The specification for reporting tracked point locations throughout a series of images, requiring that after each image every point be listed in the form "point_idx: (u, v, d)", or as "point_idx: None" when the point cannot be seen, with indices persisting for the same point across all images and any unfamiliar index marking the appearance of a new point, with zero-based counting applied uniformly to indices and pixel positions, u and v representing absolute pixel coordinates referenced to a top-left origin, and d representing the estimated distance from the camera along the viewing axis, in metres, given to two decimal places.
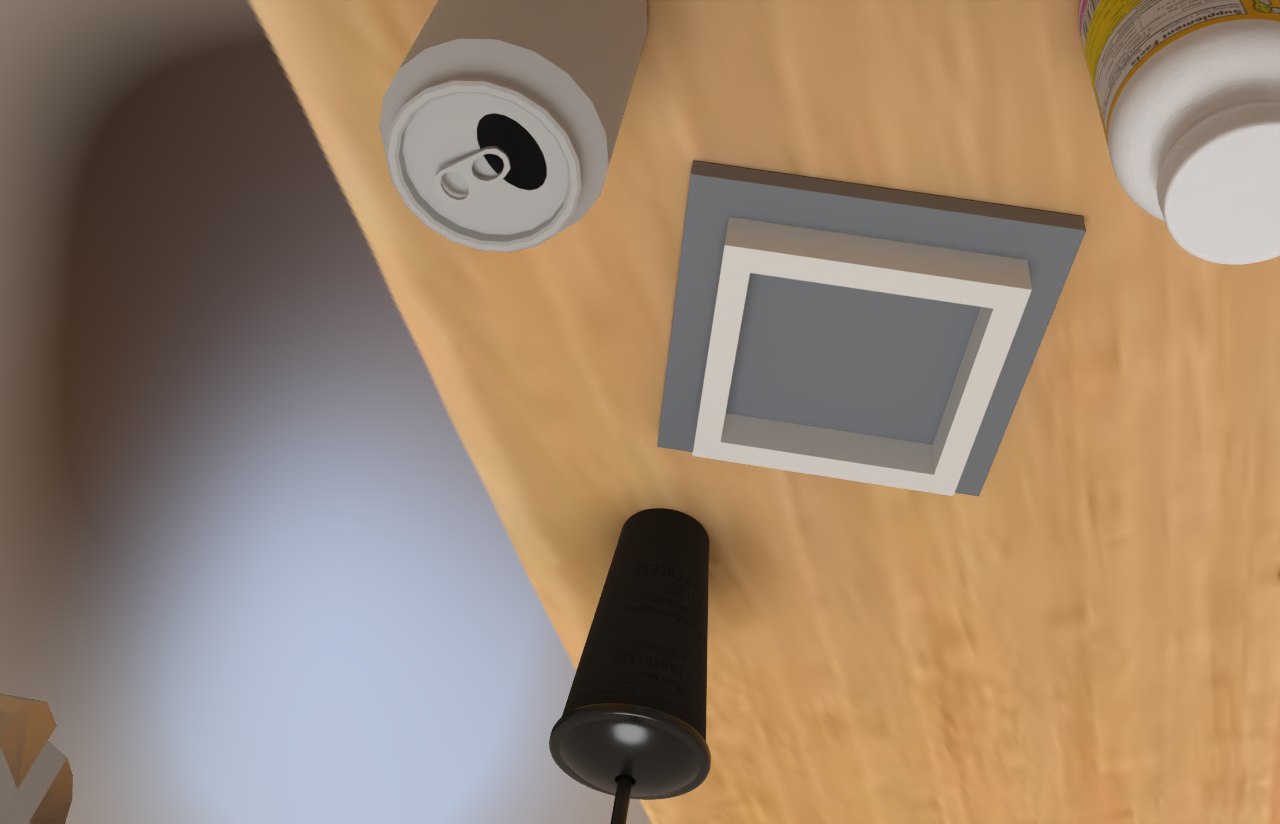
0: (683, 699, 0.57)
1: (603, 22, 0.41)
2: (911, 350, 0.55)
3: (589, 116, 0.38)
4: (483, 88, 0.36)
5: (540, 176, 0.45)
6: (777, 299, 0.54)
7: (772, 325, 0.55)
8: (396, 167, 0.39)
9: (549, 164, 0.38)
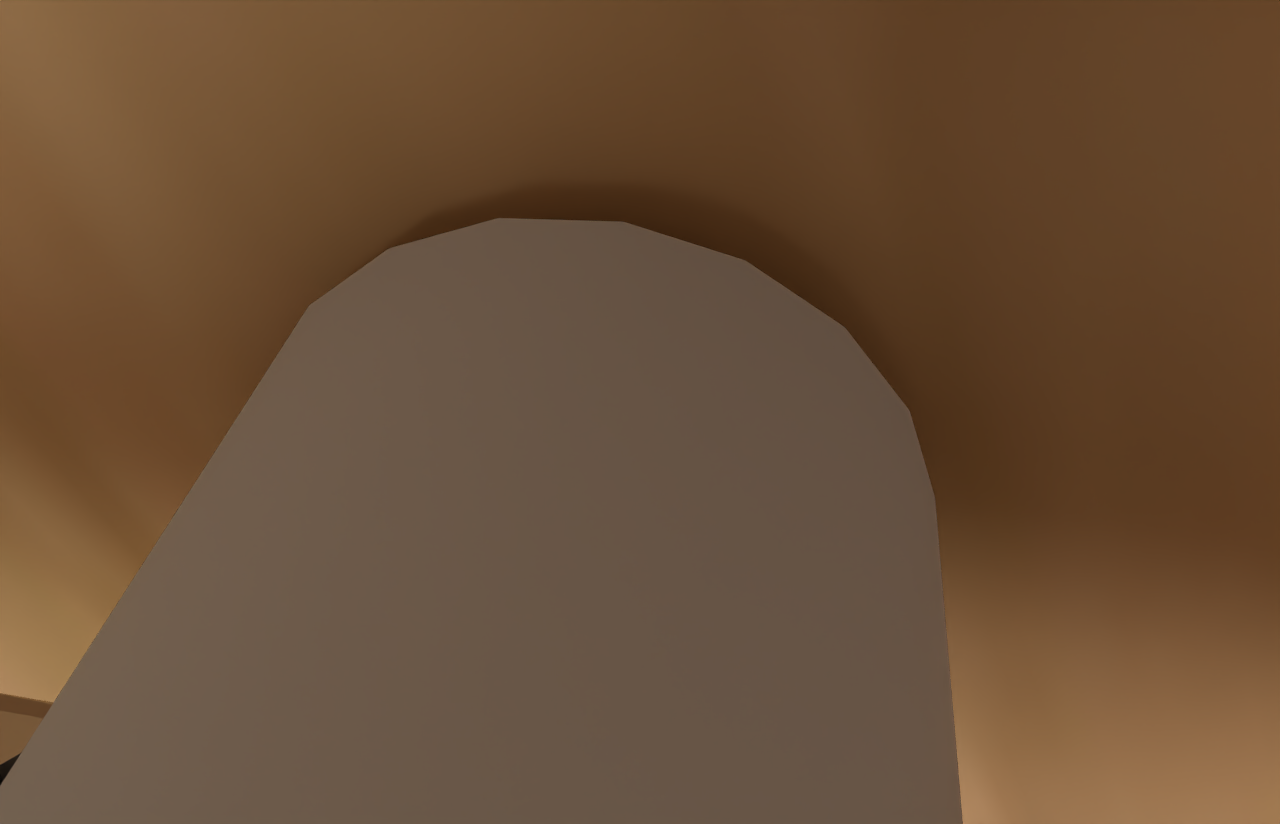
0: None
1: (896, 821, 0.08)
2: None
3: None
4: None
5: None
6: None
7: None
8: None
9: None
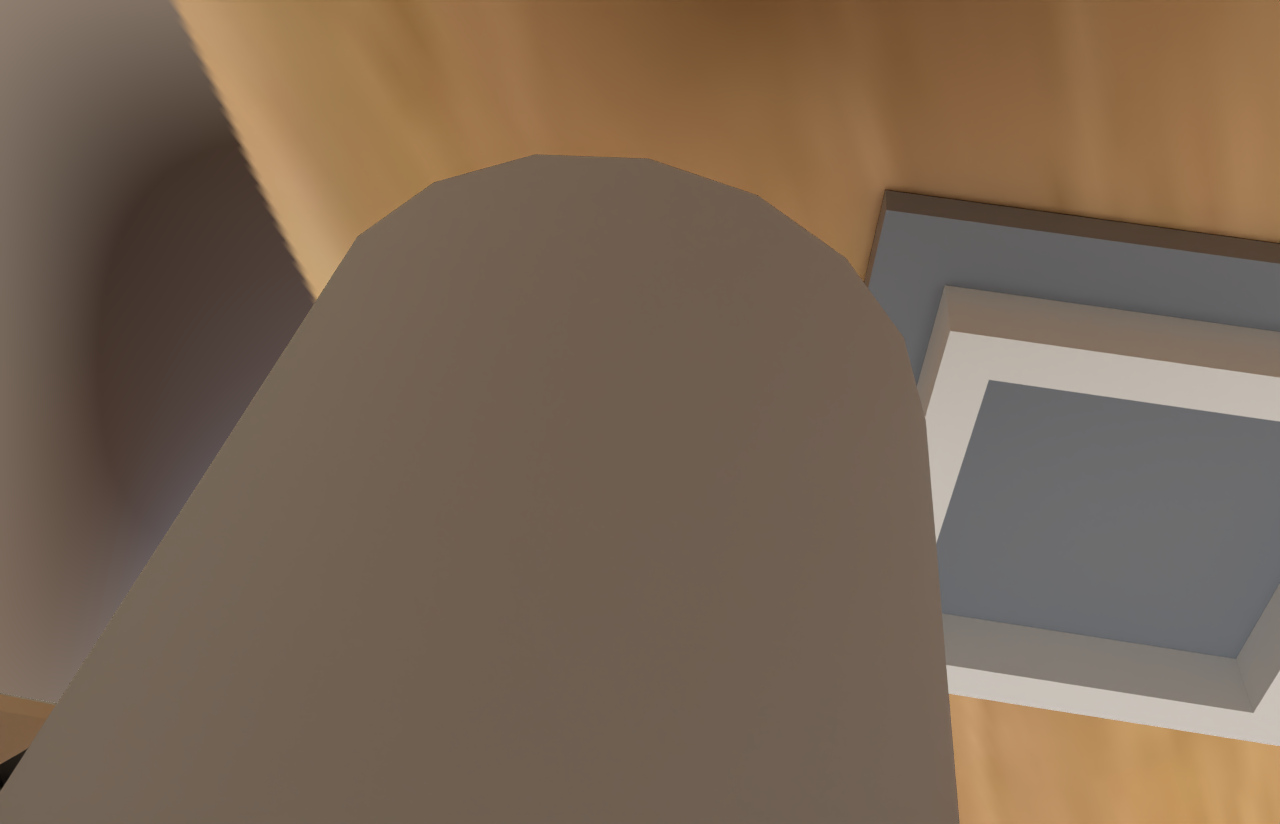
0: None
1: (890, 657, 0.09)
2: (1228, 510, 0.33)
3: None
4: None
5: None
6: (1010, 425, 0.32)
7: (995, 469, 0.33)
8: None
9: None
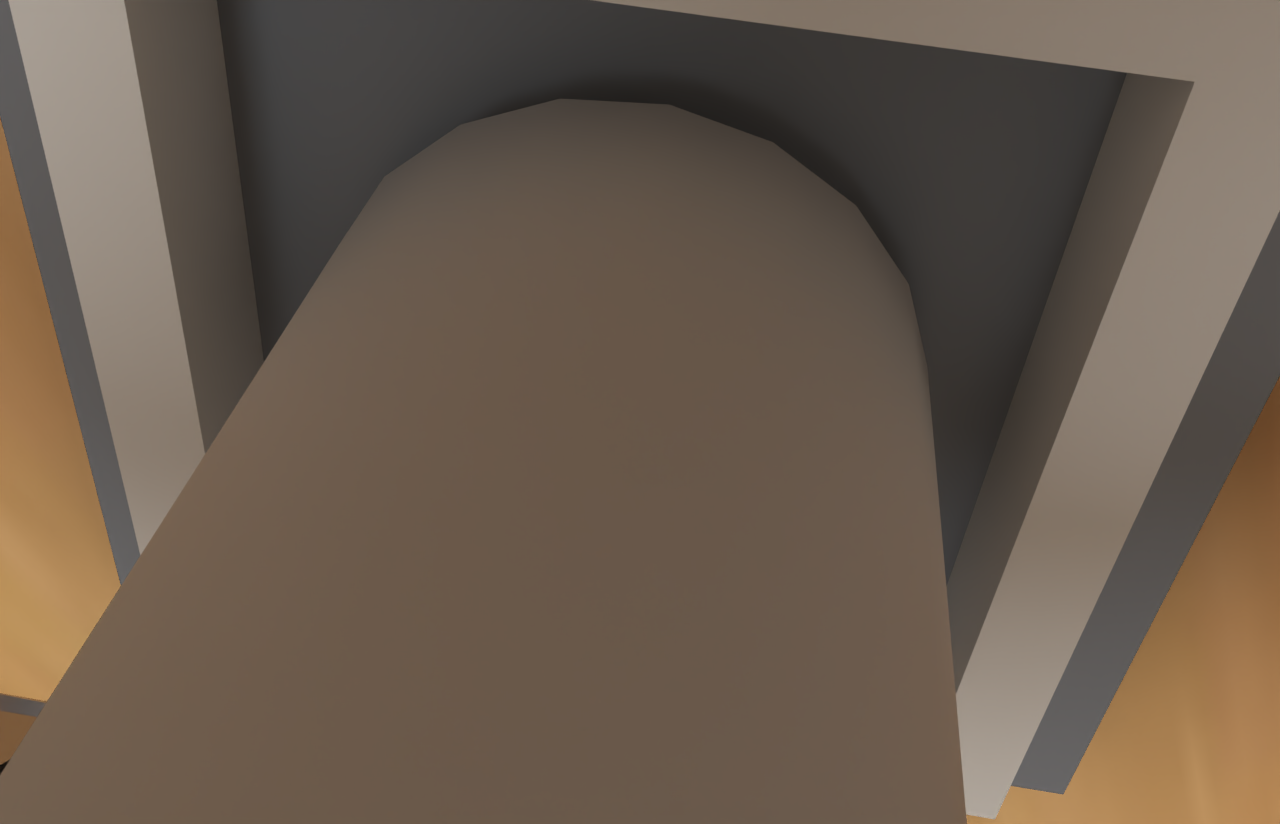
0: None
1: (899, 568, 0.10)
2: None
3: None
4: None
5: None
6: (349, 132, 0.15)
7: None
8: None
9: None
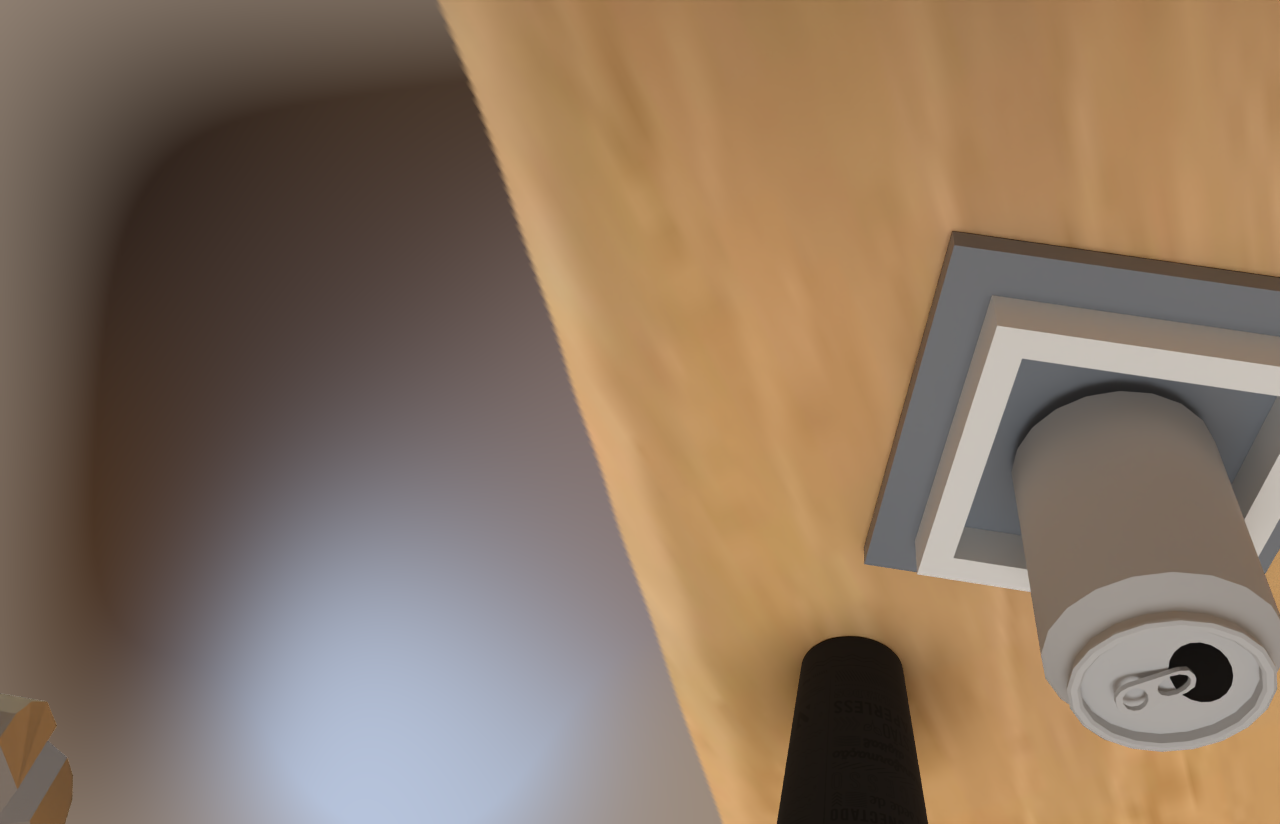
0: None
1: (1243, 523, 0.42)
2: None
3: None
4: (1211, 629, 0.37)
5: None
6: (1034, 392, 0.47)
7: (1022, 423, 0.48)
8: (1079, 679, 0.39)
9: (1235, 684, 0.39)
